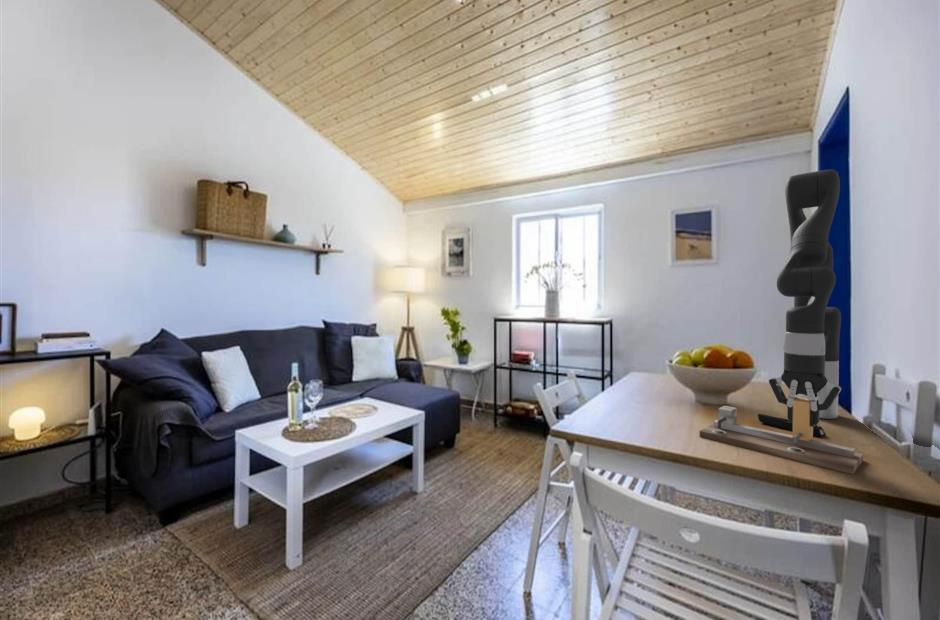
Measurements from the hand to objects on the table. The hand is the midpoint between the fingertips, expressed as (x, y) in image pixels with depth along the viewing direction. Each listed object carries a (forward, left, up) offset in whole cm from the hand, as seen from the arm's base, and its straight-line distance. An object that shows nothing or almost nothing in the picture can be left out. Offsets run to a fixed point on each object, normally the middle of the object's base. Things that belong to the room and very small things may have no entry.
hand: (802, 423), depth 97 cm
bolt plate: (+2, -5, -7) cm, 9 cm away
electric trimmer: (-17, -6, -7) cm, 20 cm away
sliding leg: (+2, 0, -4) cm, 4 cm away
